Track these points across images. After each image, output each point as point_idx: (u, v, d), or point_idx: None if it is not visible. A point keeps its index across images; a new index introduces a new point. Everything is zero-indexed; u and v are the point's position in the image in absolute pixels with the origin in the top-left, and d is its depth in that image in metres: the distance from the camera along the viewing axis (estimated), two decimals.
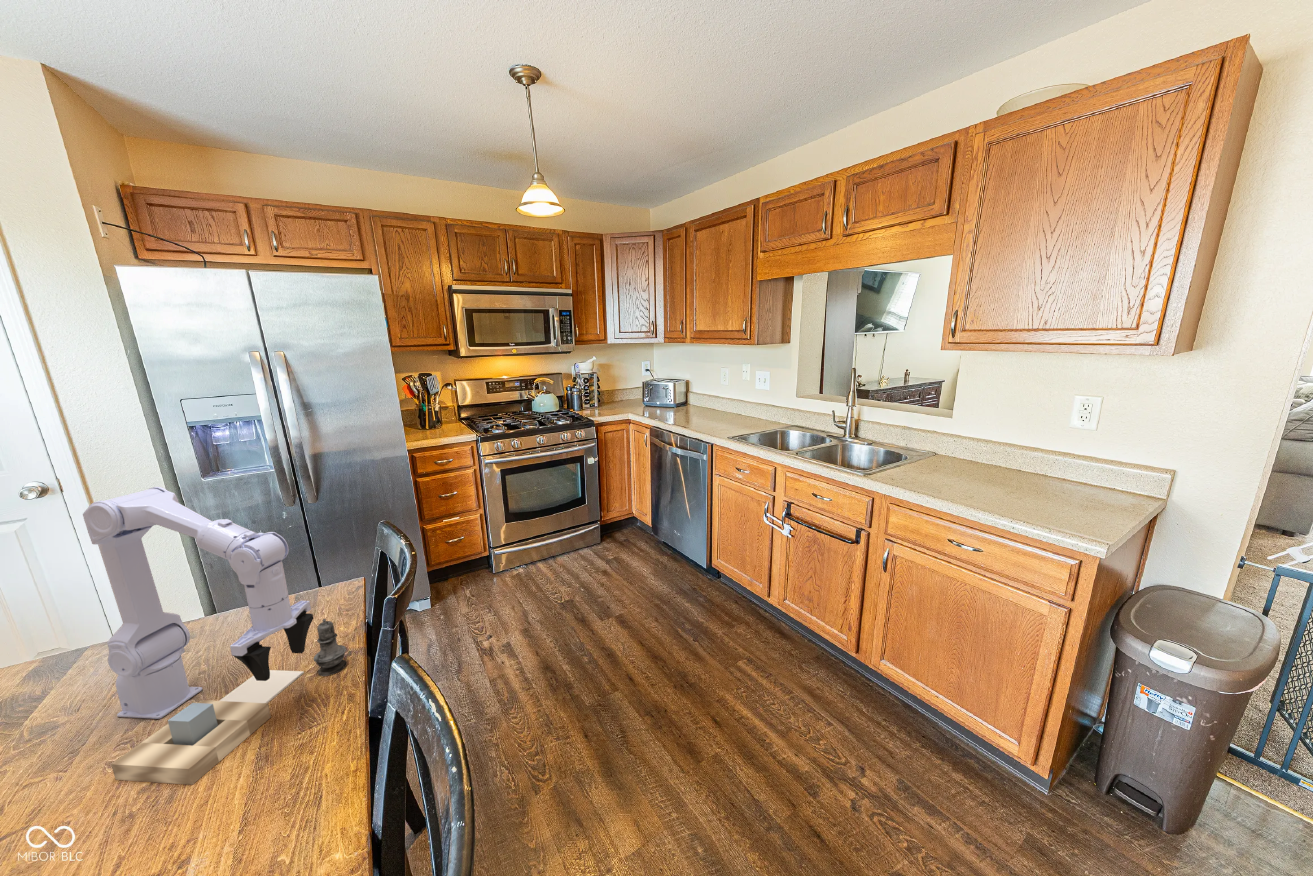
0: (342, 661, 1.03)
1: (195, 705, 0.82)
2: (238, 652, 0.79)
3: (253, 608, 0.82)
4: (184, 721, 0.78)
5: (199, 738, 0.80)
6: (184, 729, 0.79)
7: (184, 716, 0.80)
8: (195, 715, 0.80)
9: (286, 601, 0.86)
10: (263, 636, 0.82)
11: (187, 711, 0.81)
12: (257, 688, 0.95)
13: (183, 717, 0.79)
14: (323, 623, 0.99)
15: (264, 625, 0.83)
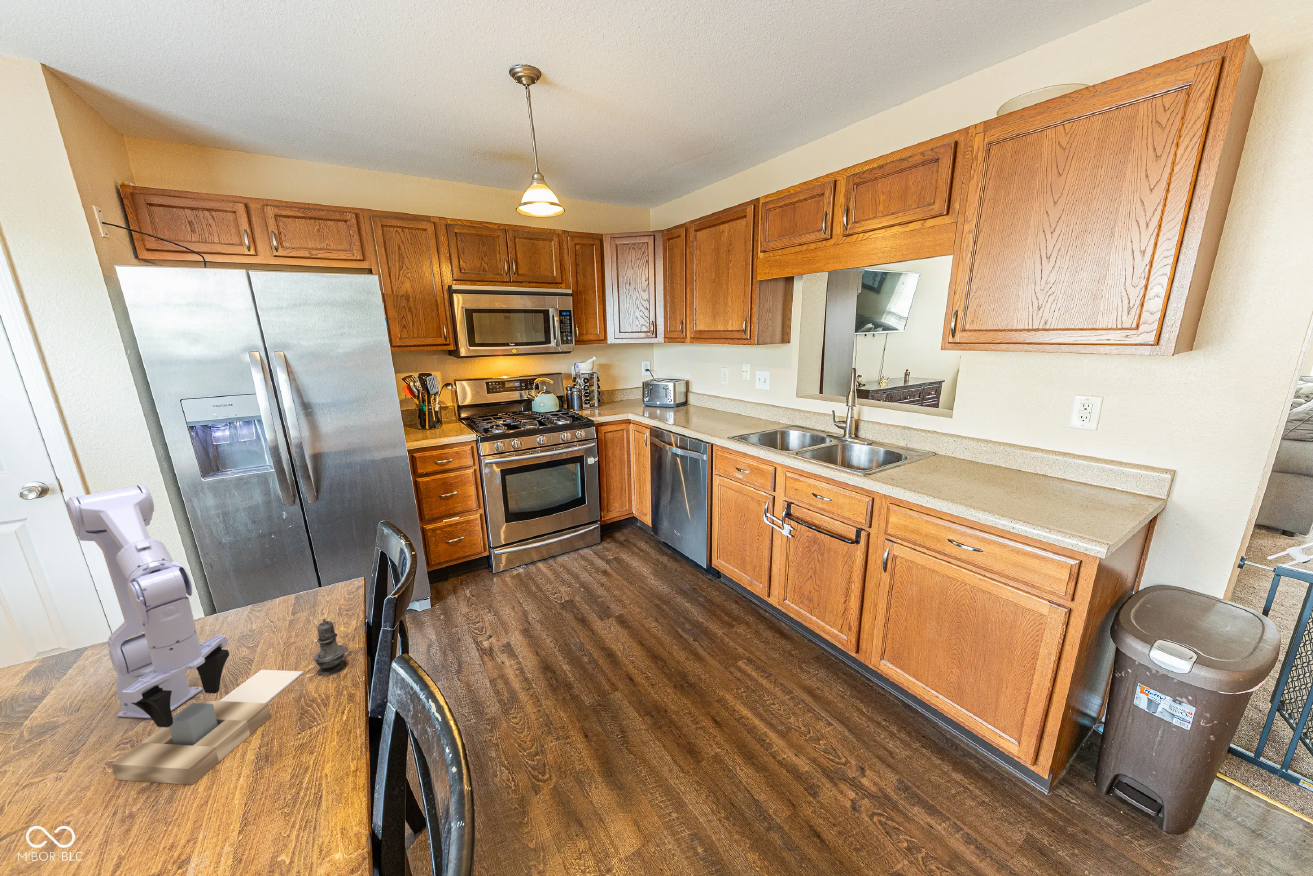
0: (342, 661, 1.03)
1: (195, 705, 0.82)
2: (131, 699, 0.72)
3: (152, 648, 0.75)
4: (184, 722, 0.78)
5: (199, 738, 0.80)
6: (184, 729, 0.79)
7: (184, 716, 0.80)
8: (195, 715, 0.80)
9: (192, 639, 0.78)
10: (163, 679, 0.75)
11: (187, 711, 0.81)
12: (257, 688, 0.95)
13: (183, 717, 0.79)
14: (323, 623, 0.99)
15: (165, 666, 0.76)
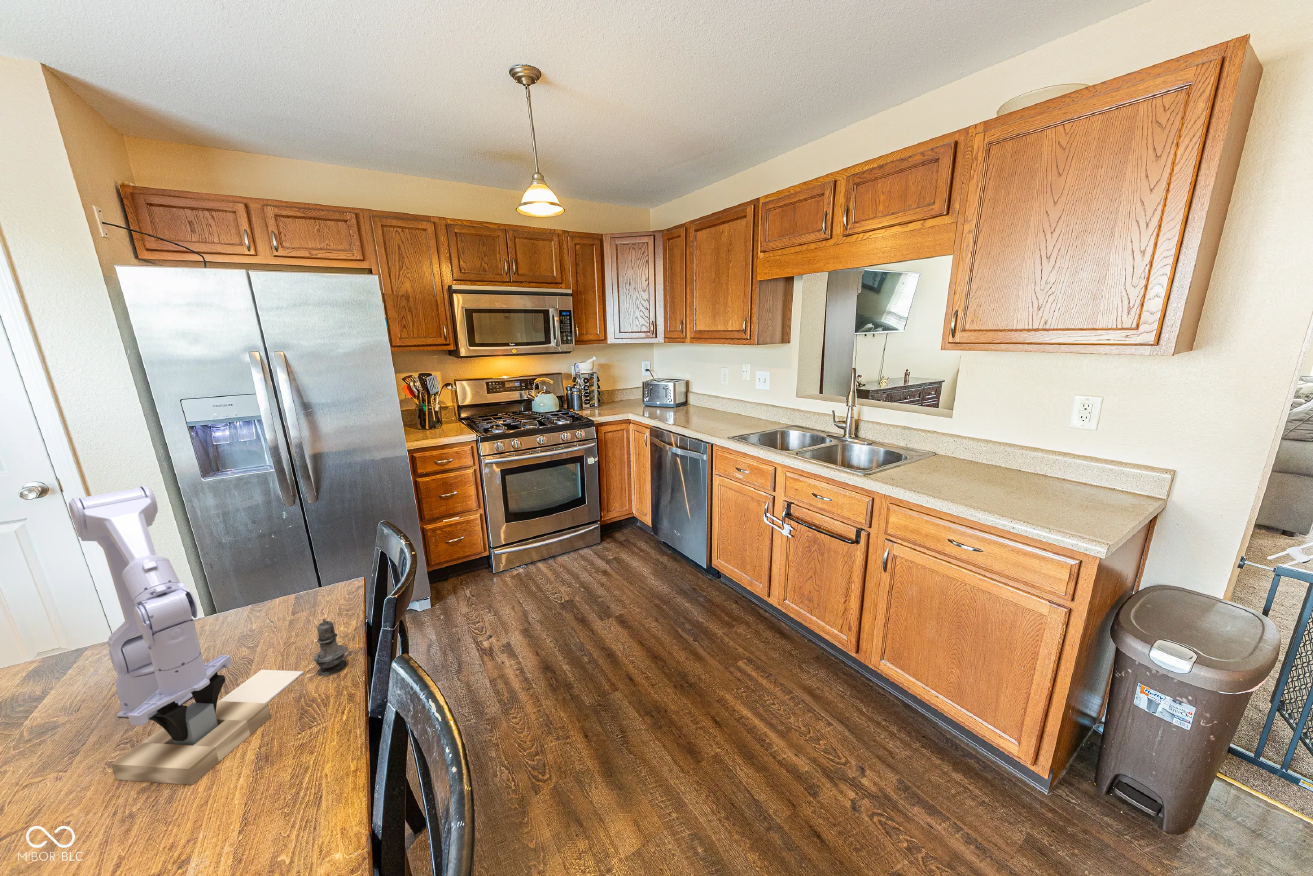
0: (342, 661, 1.03)
1: (195, 705, 0.82)
2: (137, 722, 0.73)
3: (158, 671, 0.76)
4: None
5: (199, 738, 0.80)
6: None
7: None
8: (195, 715, 0.80)
9: (198, 661, 0.79)
10: (168, 701, 0.76)
11: (187, 711, 0.81)
12: (257, 688, 0.95)
13: None
14: (323, 623, 0.99)
15: (171, 689, 0.77)
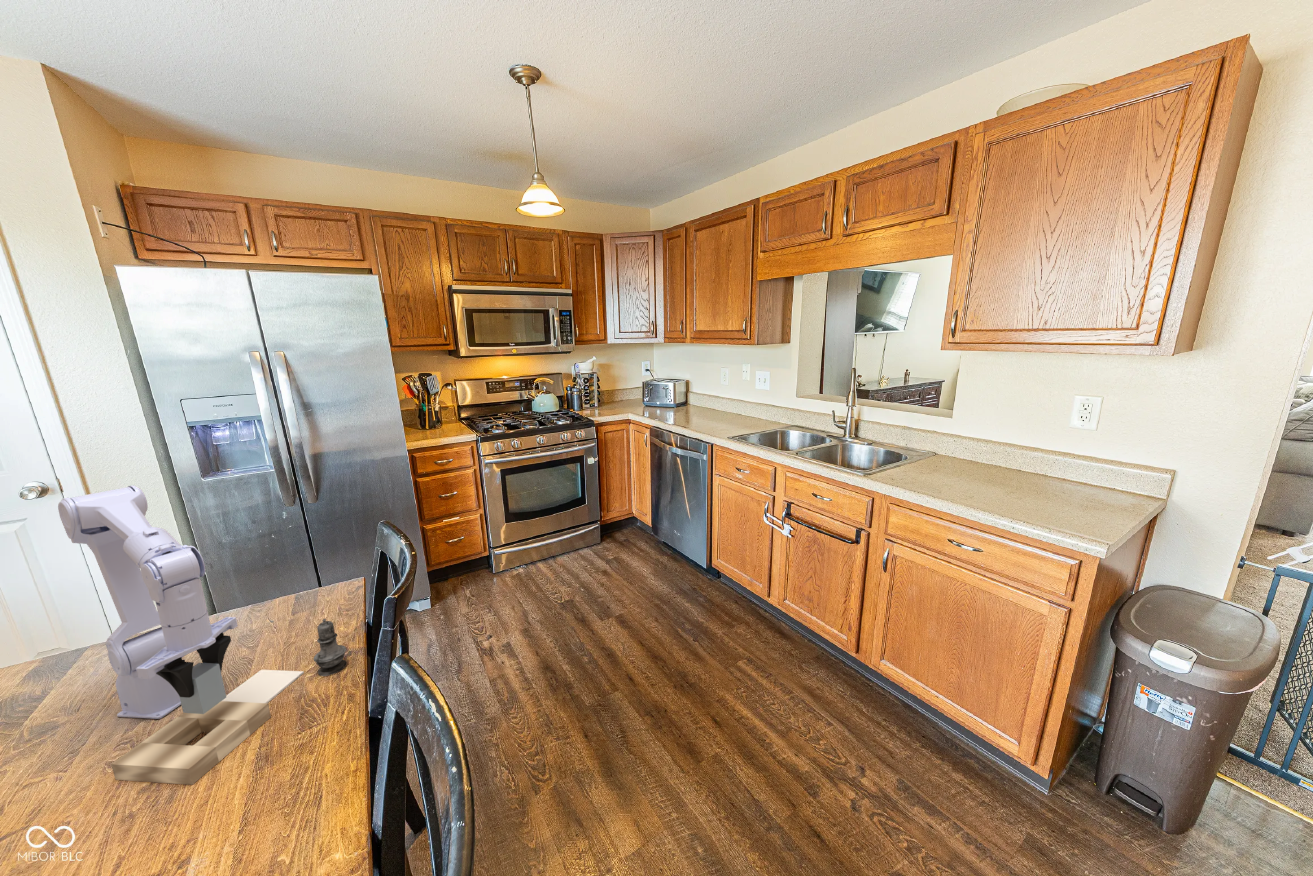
0: (342, 661, 1.03)
1: (201, 664, 0.84)
2: (145, 675, 0.74)
3: (165, 627, 0.77)
4: None
5: (205, 696, 0.82)
6: None
7: None
8: (201, 674, 0.81)
9: (204, 619, 0.81)
10: (175, 657, 0.77)
11: (194, 670, 0.82)
12: (257, 688, 0.95)
13: None
14: (323, 623, 0.99)
15: (178, 645, 0.78)
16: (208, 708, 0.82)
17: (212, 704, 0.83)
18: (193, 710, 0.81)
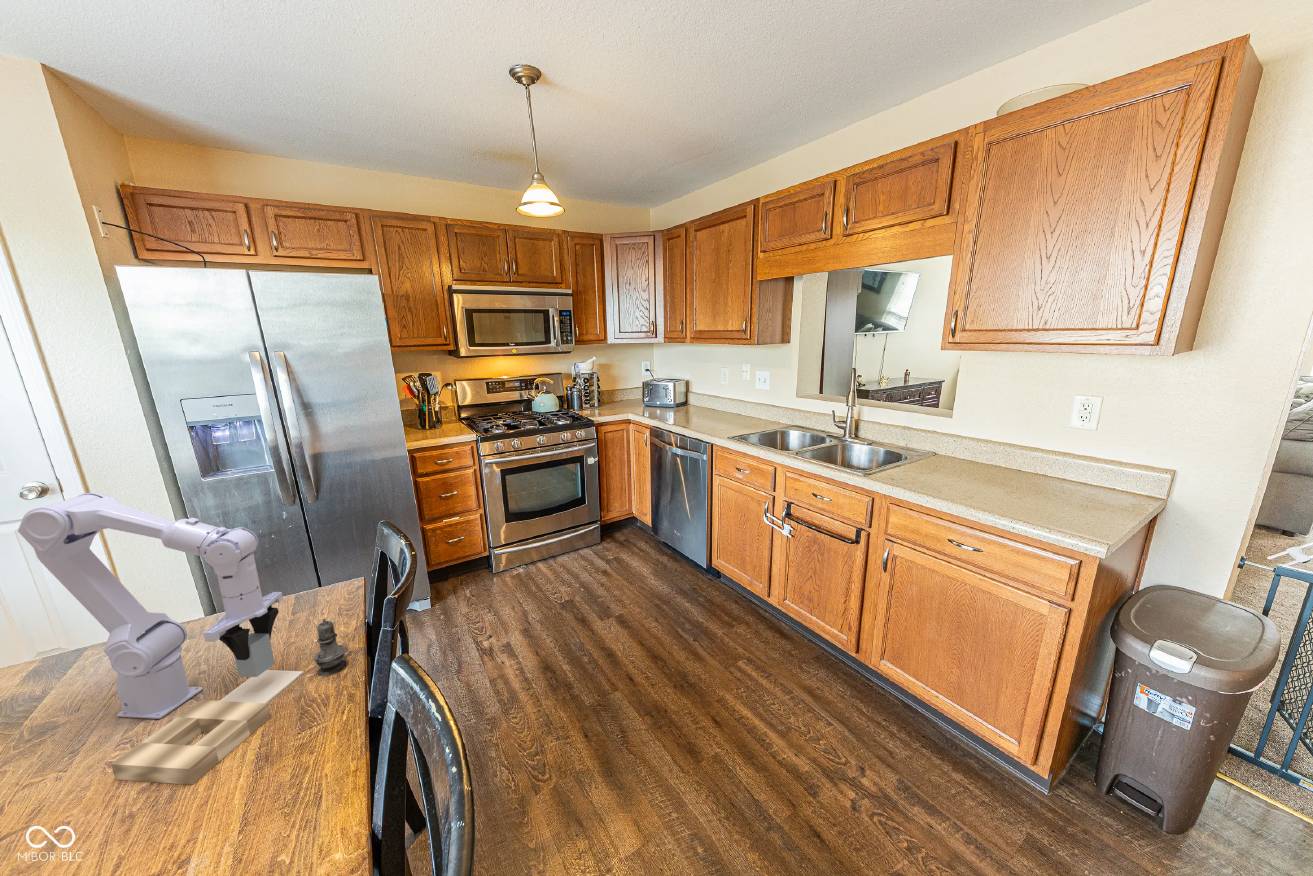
0: (342, 661, 1.03)
1: (253, 634, 0.95)
2: (211, 638, 0.85)
3: (226, 598, 0.89)
4: None
5: (258, 661, 0.93)
6: None
7: None
8: (255, 641, 0.93)
9: (257, 592, 0.92)
10: (235, 624, 0.89)
11: None
12: (257, 688, 0.95)
13: None
14: (323, 623, 0.99)
15: (236, 613, 0.90)
16: (260, 672, 0.94)
17: (263, 669, 0.94)
18: (248, 674, 0.93)
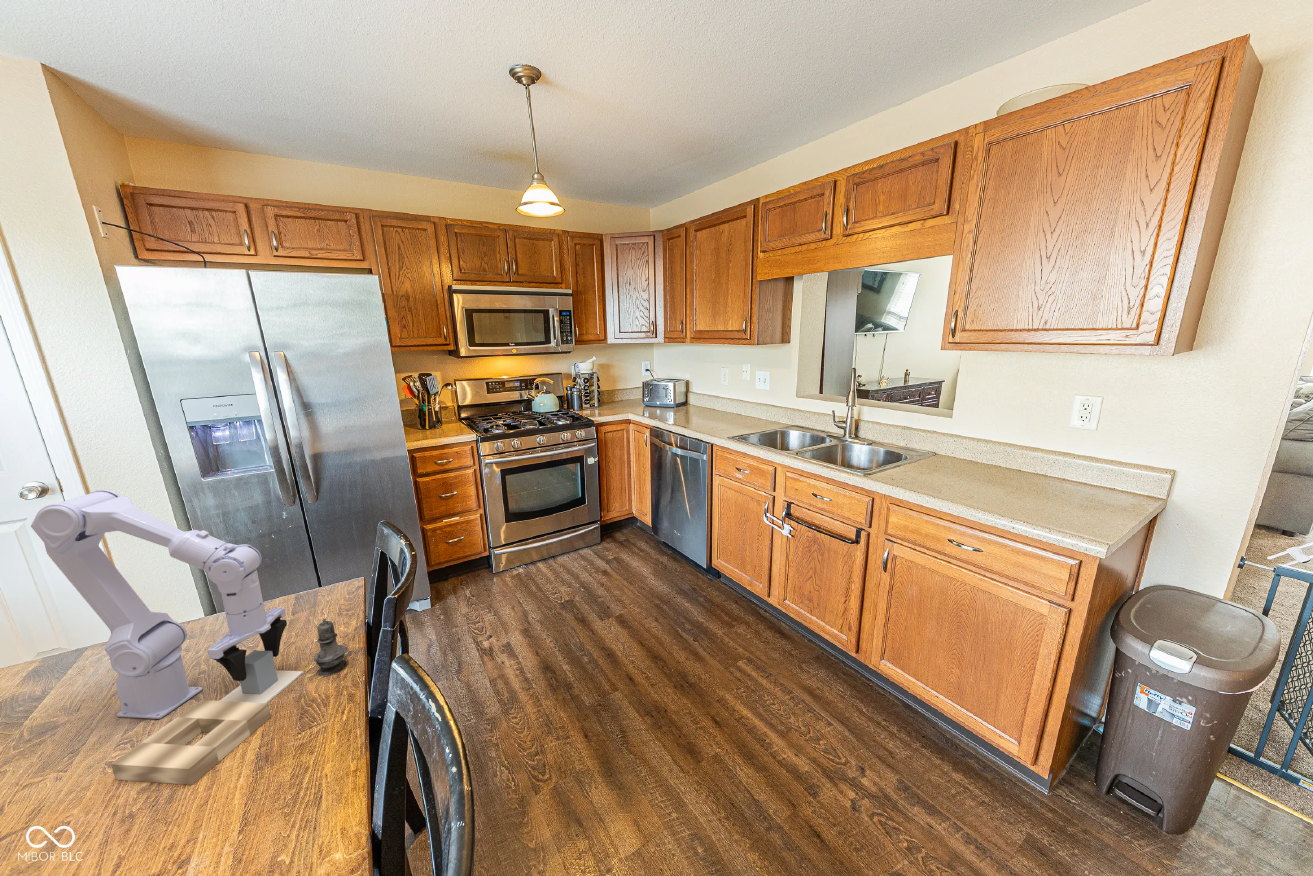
0: (342, 661, 1.03)
1: (257, 651, 0.96)
2: (215, 655, 0.86)
3: (229, 615, 0.89)
4: (250, 664, 0.92)
5: (262, 679, 0.94)
6: (250, 670, 0.93)
7: (249, 660, 0.93)
8: (258, 659, 0.93)
9: (261, 608, 0.93)
10: (238, 640, 0.89)
11: (251, 656, 0.94)
12: None
13: (248, 660, 0.93)
14: (323, 623, 0.99)
15: (240, 630, 0.90)
16: (264, 689, 0.94)
17: (267, 686, 0.95)
18: (251, 691, 0.94)
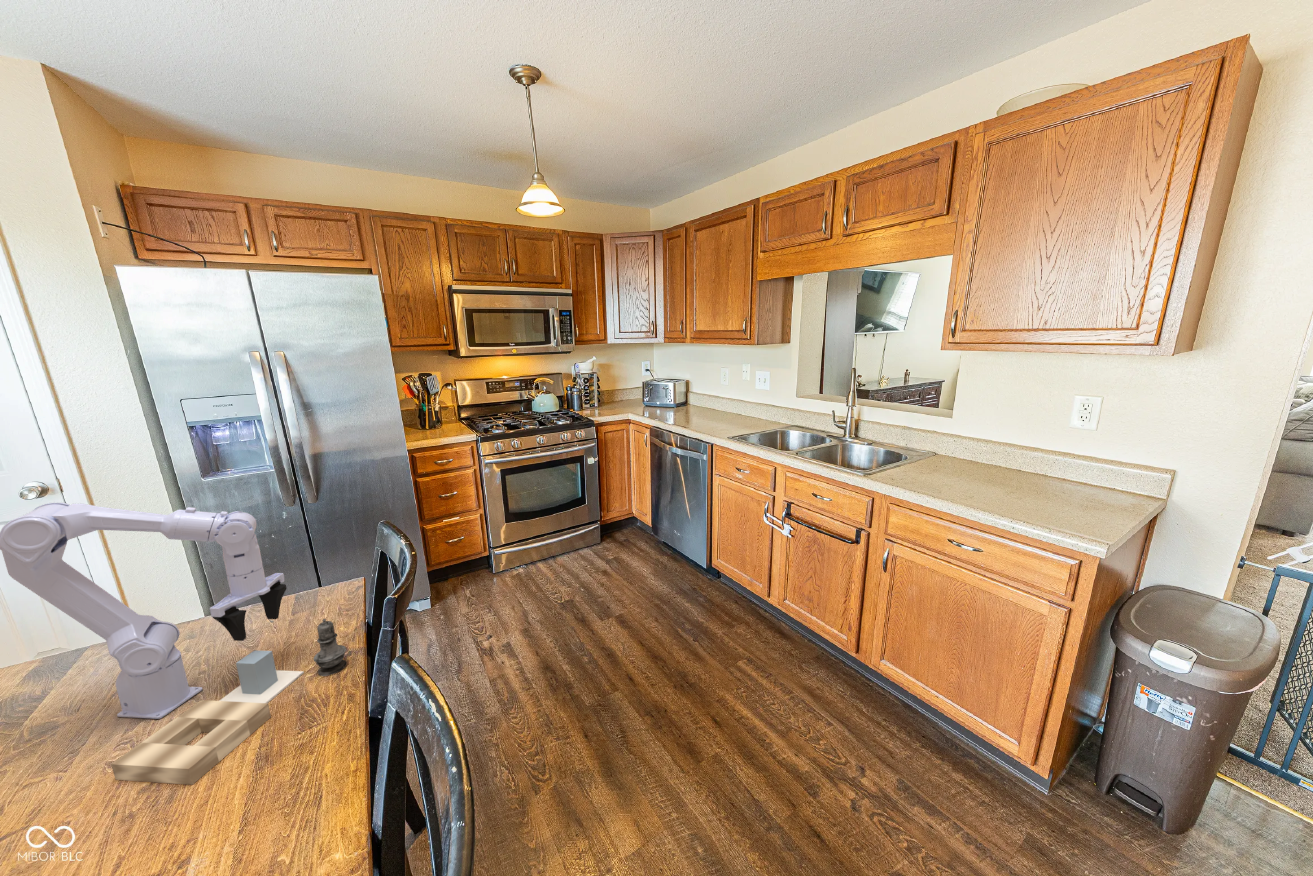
0: (342, 661, 1.03)
1: (257, 651, 0.96)
2: (217, 614, 0.90)
3: (231, 576, 0.94)
4: (250, 664, 0.92)
5: (262, 679, 0.94)
6: (250, 670, 0.93)
7: (249, 660, 0.93)
8: (258, 659, 0.93)
9: (260, 571, 0.97)
10: (239, 601, 0.93)
11: (251, 656, 0.94)
12: None
13: (248, 660, 0.93)
14: (323, 623, 0.99)
15: (240, 591, 0.94)
16: (264, 689, 0.94)
17: (267, 686, 0.95)
18: (251, 691, 0.94)
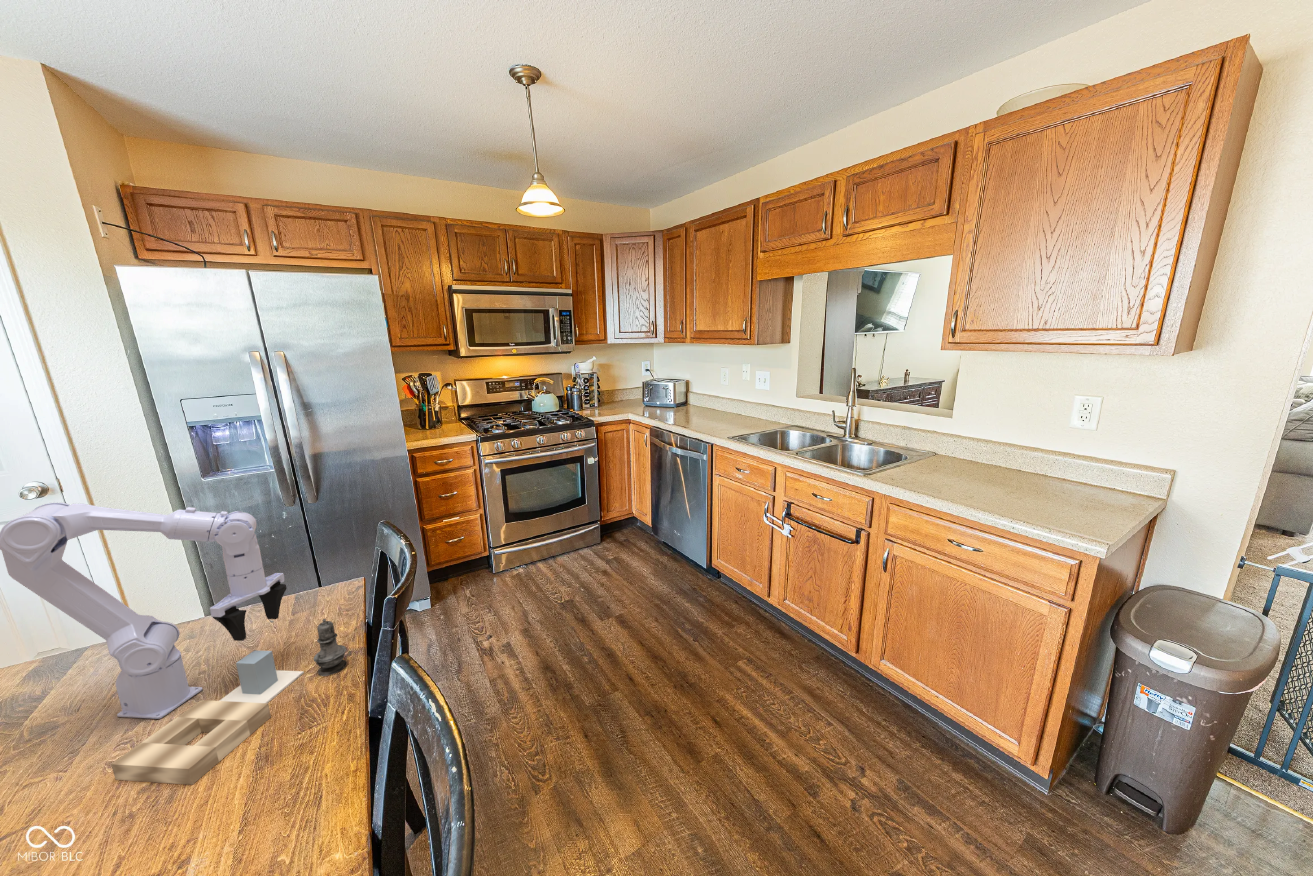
0: (342, 661, 1.03)
1: (257, 651, 0.96)
2: (217, 613, 0.90)
3: (231, 576, 0.94)
4: (250, 664, 0.92)
5: (262, 679, 0.94)
6: (250, 670, 0.93)
7: (249, 660, 0.93)
8: (258, 659, 0.93)
9: (260, 571, 0.97)
10: (239, 601, 0.93)
11: (251, 656, 0.94)
12: None
13: (248, 660, 0.93)
14: (323, 623, 0.99)
15: (240, 591, 0.94)
16: (264, 689, 0.94)
17: (267, 686, 0.95)
18: (251, 691, 0.94)
